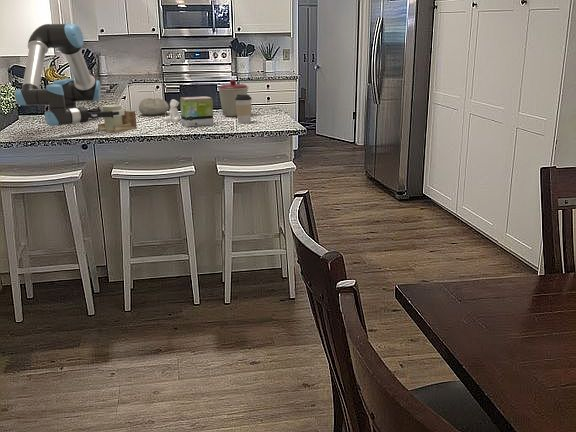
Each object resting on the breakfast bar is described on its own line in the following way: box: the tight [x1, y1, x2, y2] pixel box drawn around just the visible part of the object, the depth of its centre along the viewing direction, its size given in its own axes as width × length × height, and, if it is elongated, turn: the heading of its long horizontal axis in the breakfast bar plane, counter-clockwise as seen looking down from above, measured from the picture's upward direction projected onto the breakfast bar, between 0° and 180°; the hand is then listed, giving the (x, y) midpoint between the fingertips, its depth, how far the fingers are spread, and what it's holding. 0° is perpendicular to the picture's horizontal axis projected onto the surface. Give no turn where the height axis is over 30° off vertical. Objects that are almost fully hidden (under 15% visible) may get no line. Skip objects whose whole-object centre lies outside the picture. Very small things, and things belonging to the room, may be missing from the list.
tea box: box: [179, 95, 214, 128], centre depth 318 cm, size 15×10×15 cm, turn 117°
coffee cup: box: [235, 94, 252, 124], centre depth 323 cm, size 9×9×15 cm
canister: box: [217, 78, 250, 118], centre depth 347 cm, size 18×18×21 cm
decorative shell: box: [138, 97, 170, 116], centre depth 358 cm, size 18×18×10 cm
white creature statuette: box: [162, 98, 181, 123], centre depth 333 cm, size 10×9×12 cm
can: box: [102, 104, 123, 130], centre depth 306 cm, size 9×9×12 cm
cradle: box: [97, 109, 138, 134], centre depth 308 cm, size 14×14×9 cm
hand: (118, 111), depth 307 cm, fingers open, 13 cm apart
